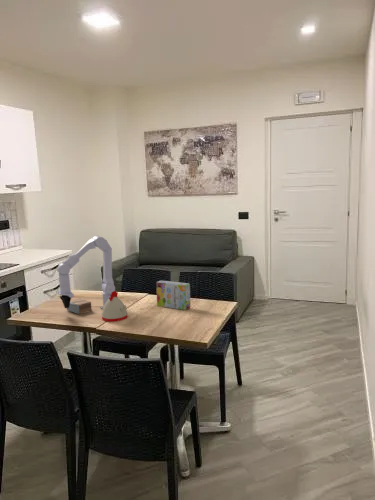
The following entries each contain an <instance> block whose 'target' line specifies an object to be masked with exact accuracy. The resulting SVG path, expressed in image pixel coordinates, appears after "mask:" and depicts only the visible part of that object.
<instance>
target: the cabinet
mask: <svg viewBox="0 0 375 500" xmlns="http://www.w3.org/2000/svg"><path fill="white" fill-rule="evenodd" d="M70 302H71V303H76V304H78V305H79V312H80V313H79V315H81V314H85V313H87V312H91V311H92V302H91V301H89V300H86V299H82V298H77V299H73V300H72V299H71V300H70ZM84 312H85V313H84Z"/></svg>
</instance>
